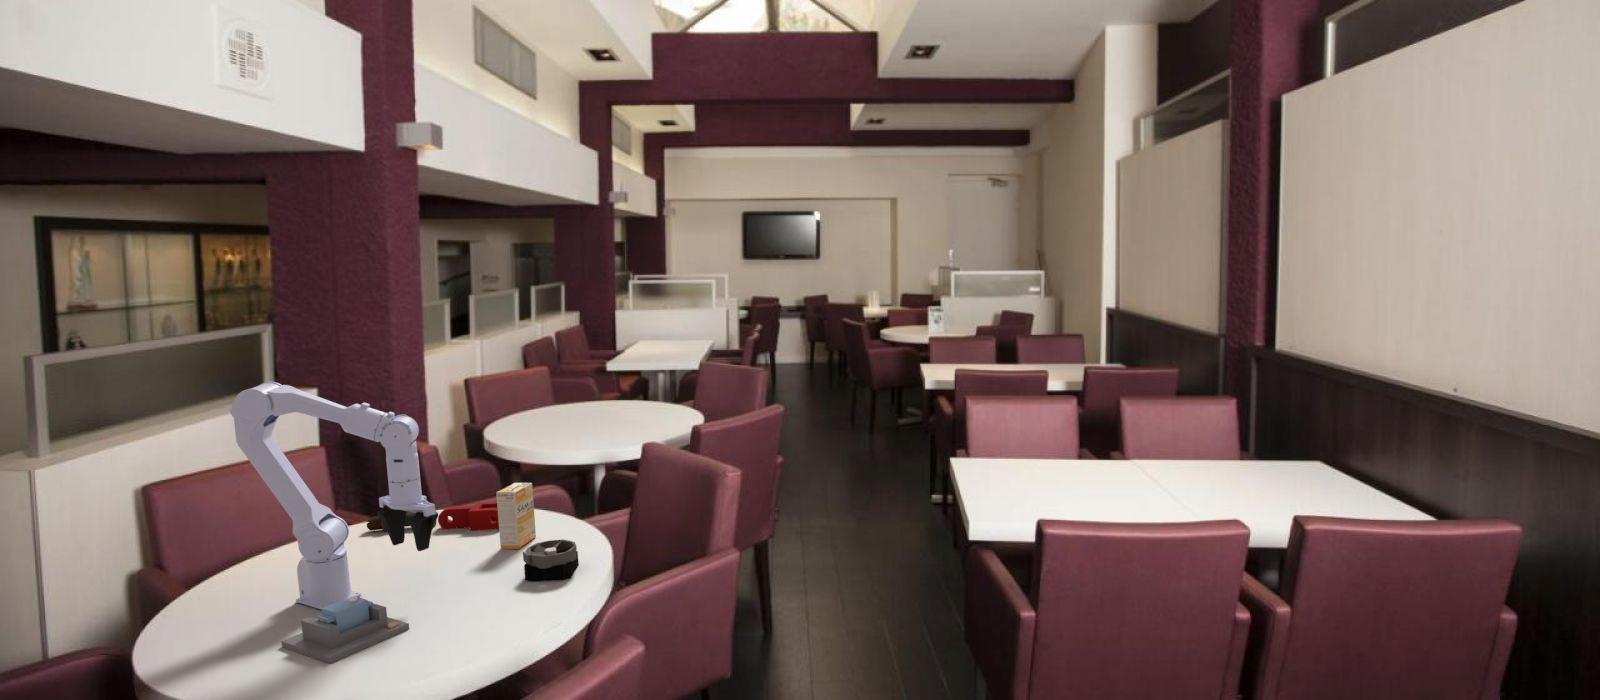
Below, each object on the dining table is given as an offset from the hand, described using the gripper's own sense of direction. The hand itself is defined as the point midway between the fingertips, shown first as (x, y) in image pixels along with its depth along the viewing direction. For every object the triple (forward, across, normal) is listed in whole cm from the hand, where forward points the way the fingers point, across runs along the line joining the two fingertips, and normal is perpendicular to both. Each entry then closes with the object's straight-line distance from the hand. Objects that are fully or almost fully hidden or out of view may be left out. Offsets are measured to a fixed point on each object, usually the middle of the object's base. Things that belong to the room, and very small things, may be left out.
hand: (410, 546), depth 182 cm
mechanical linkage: (+10, +24, -34) cm, 43 cm away
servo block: (+8, -7, +19) cm, 22 cm away
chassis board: (+9, -7, +19) cm, 22 cm away
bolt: (+10, +39, -25) cm, 47 cm away
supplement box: (+10, +4, -30) cm, 32 cm away
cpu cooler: (+10, -17, -20) cm, 28 cm away
